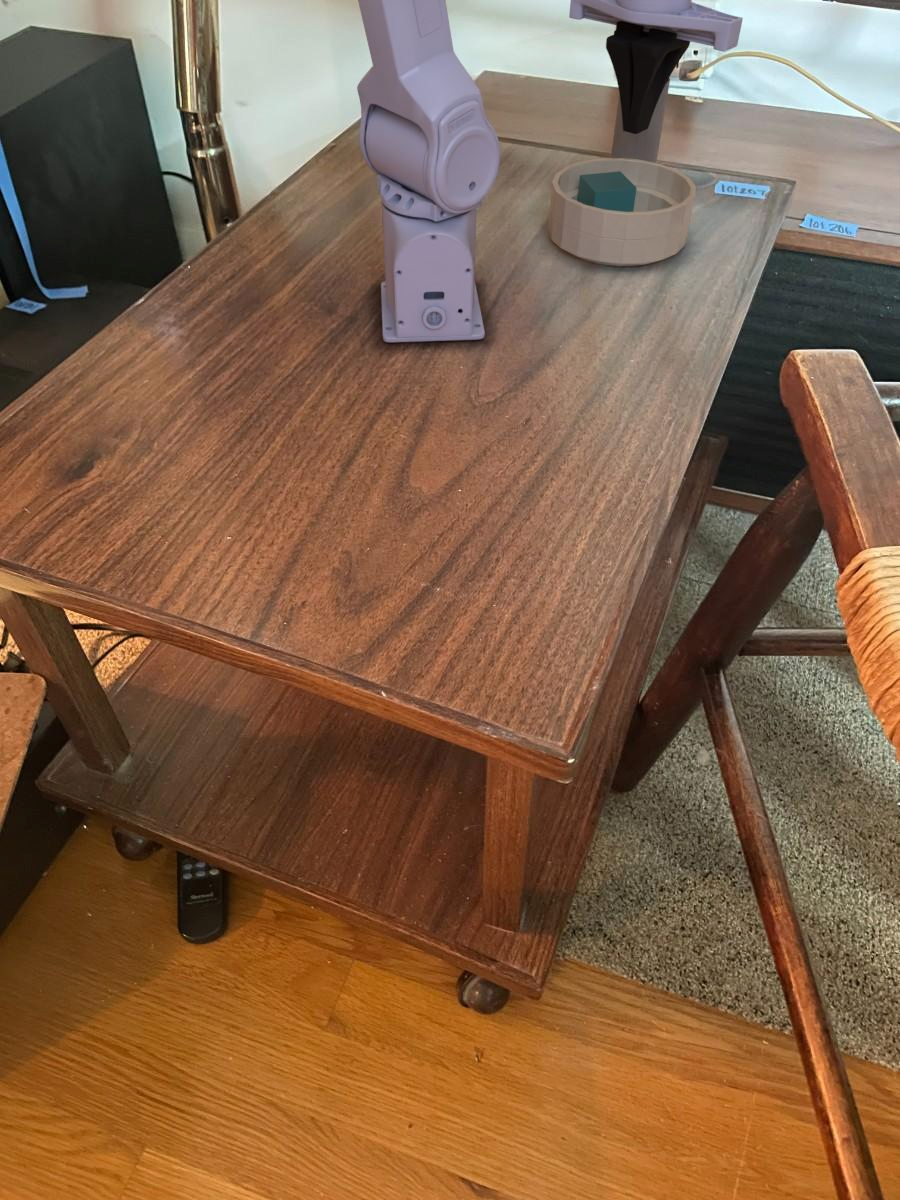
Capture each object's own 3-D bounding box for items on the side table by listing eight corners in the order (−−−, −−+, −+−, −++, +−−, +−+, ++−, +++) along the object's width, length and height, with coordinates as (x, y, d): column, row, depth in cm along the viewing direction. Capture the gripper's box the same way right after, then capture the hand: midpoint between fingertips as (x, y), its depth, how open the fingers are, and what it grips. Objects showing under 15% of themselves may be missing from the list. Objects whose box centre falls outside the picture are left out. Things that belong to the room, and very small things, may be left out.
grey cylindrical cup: (597, 188, 91) (611, 75, 83) (627, 177, 93) (643, 66, 85) (631, 201, 88) (648, 87, 81) (660, 190, 90) (680, 77, 83)
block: (630, 231, 82) (637, 187, 79) (589, 236, 82) (595, 191, 79) (614, 214, 85) (620, 170, 82) (575, 218, 84) (579, 174, 81)
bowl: (700, 268, 78) (712, 211, 75) (559, 273, 78) (565, 215, 74) (666, 209, 87) (675, 156, 84) (539, 213, 86) (543, 159, 83)
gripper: (777, -61, 65) (734, 137, 75) (612, -85, 72) (592, 99, 82) (731, -46, 61) (691, 160, 71) (561, -73, 68) (546, 119, 78)
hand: (635, 129), depth 76 cm, fingers closed
